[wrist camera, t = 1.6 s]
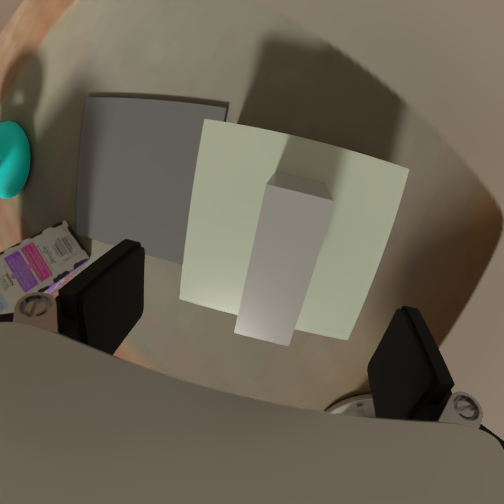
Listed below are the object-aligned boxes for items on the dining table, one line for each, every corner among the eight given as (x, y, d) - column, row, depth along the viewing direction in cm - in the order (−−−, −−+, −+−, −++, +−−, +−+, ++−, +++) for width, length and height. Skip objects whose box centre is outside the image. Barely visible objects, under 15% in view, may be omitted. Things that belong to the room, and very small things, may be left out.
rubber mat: (227, 108, 24) (226, 107, 24) (200, 266, 30) (199, 268, 29) (88, 97, 25) (85, 97, 25) (79, 232, 31) (76, 234, 30)
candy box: (65, 216, 31) (-46, 276, 15) (92, 258, 32) (-10, 336, 17) (23, 269, 35) (-57, 325, 20) (45, 302, 36) (-30, 368, 21)
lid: (398, 165, 18) (443, 182, 12) (344, 323, 23) (354, 389, 17) (214, 120, 19) (171, 114, 12) (189, 285, 24) (151, 339, 17)
